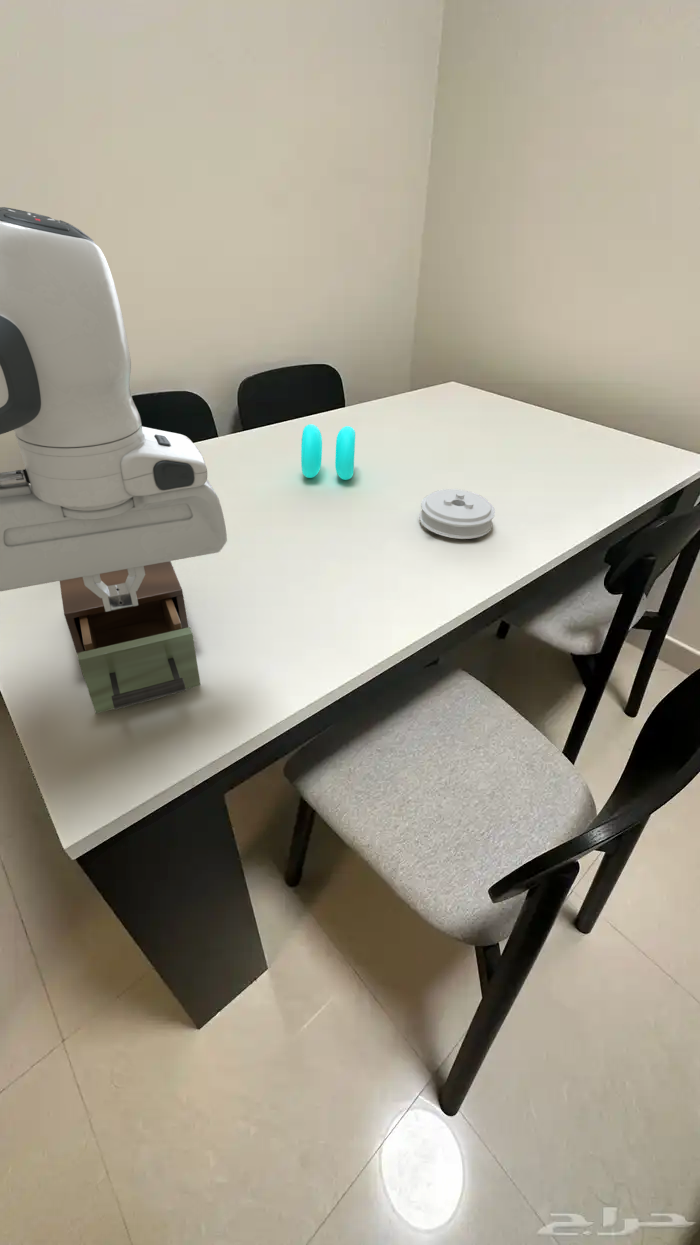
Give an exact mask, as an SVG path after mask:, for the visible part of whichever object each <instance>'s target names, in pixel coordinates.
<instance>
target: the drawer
mask: <svg viewBox="0 0 700 1245" xmlns="http://www.w3.org/2000/svg"><path fill="white" fill-rule="evenodd" d="M79 620H80V626H81V632H82V638H83V644H84V647H85V651H84V652H80V653H77V652H76V655H77V661H78V663H79V666H80V670H81V673H82V676H83V679H84V682H85V685H86V688H87V692H88V695H89V697H90V700H91V704H92V706H93V709H94V712H95V714H101V713H103V712H107V711H110V710H118V709H123V708H126V707H130V706H133V705H138V704H141V703H145V702H149V701H153V700H156V699H159V698H163V697H167V696H171V695H175V694H178V693H181V692H186V690H189V689H192V688H196V687H200V686H201V679H200V672H199V666H198V660H197V654H196V647H195V641H194V634H193V631H192V629H191V626H188V628H184V629H182V626H181V622H180V619H179V617H178V614H177V611H176V609H175V606H174V603H173V601H172V598H166V599H162V600H157V601H152V602H147V603H143V604H138V606H132V607H127V608H122V609H118V610H113V611H108V612H106V611H105V612H100V613H95V614H90V615H86V616H81V617H79Z"/></svg>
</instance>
